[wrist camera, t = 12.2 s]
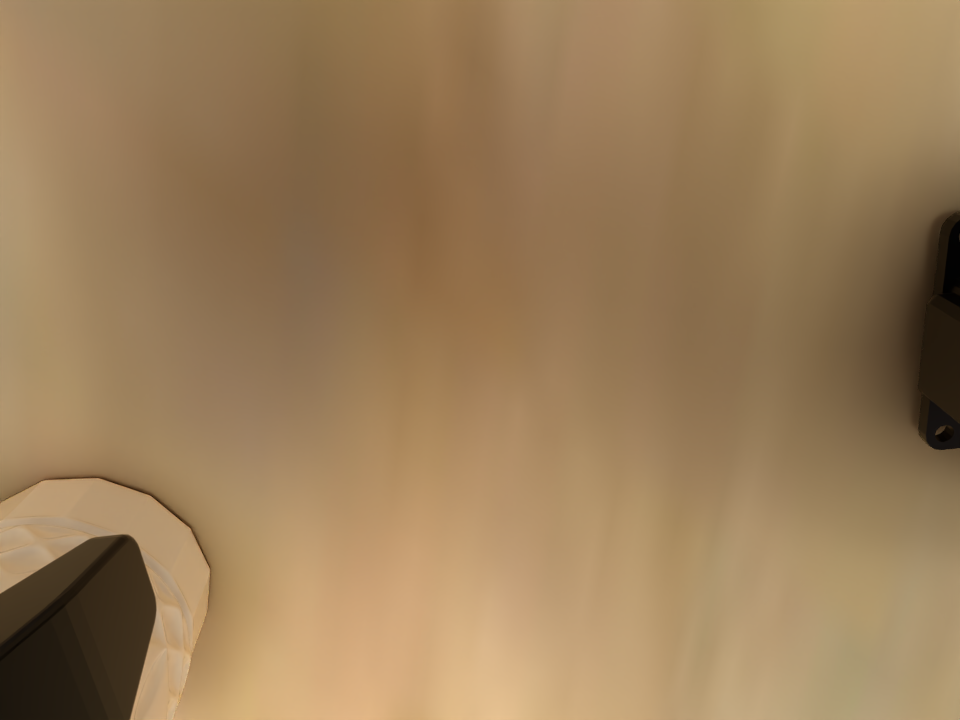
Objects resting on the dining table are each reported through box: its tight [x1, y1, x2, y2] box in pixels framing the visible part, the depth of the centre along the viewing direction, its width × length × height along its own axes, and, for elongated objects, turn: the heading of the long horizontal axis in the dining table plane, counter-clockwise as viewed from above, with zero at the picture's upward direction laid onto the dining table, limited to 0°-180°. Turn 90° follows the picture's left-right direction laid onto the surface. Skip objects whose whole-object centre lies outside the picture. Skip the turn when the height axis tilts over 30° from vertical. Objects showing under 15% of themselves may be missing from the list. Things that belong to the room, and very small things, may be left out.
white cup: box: [0, 478, 210, 720], centre depth 20 cm, size 8×8×10 cm
